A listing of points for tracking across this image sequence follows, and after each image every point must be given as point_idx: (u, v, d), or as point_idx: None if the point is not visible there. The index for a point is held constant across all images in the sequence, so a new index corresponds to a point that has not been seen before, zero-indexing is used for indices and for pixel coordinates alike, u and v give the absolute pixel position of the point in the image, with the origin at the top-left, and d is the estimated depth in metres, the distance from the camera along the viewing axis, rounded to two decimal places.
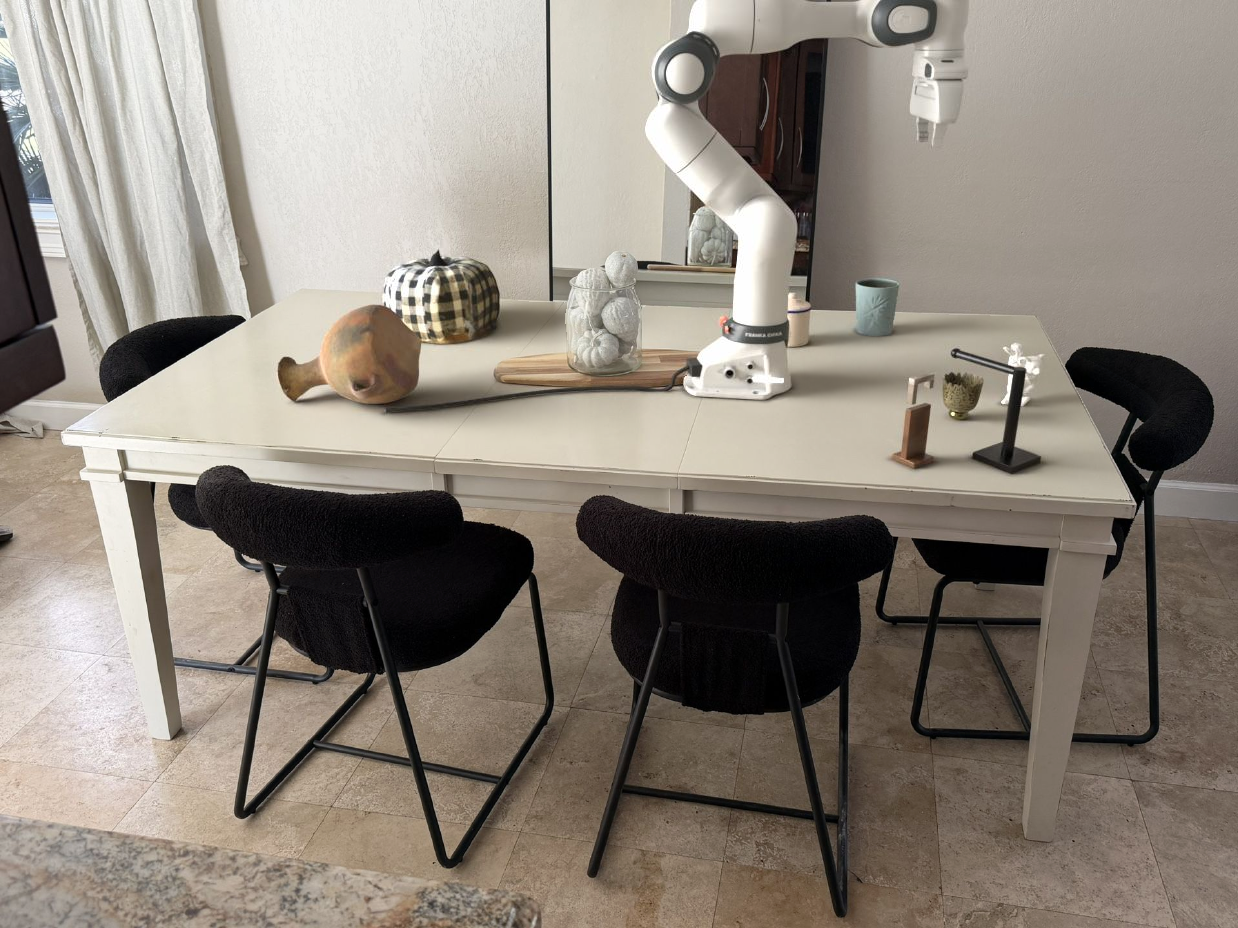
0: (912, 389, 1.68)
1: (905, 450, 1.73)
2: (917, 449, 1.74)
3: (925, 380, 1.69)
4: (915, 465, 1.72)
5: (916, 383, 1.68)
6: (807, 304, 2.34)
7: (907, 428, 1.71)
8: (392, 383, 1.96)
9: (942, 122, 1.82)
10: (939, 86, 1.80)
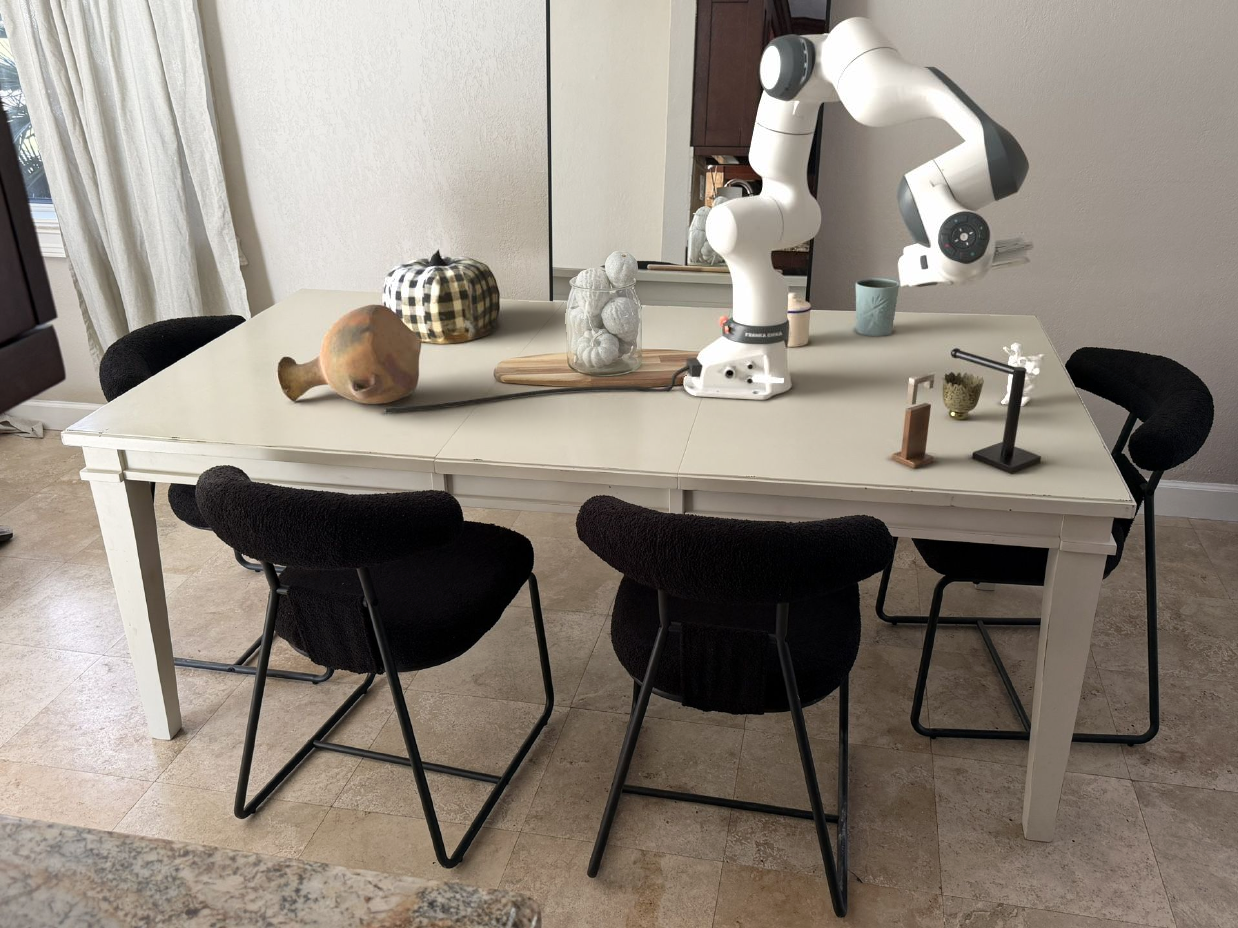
0: (912, 389, 1.68)
1: (905, 450, 1.73)
2: (917, 449, 1.74)
3: (925, 380, 1.69)
4: (915, 465, 1.72)
5: (916, 383, 1.68)
6: (807, 304, 2.34)
7: (907, 428, 1.71)
8: (392, 383, 1.96)
9: None
10: (901, 259, 1.62)
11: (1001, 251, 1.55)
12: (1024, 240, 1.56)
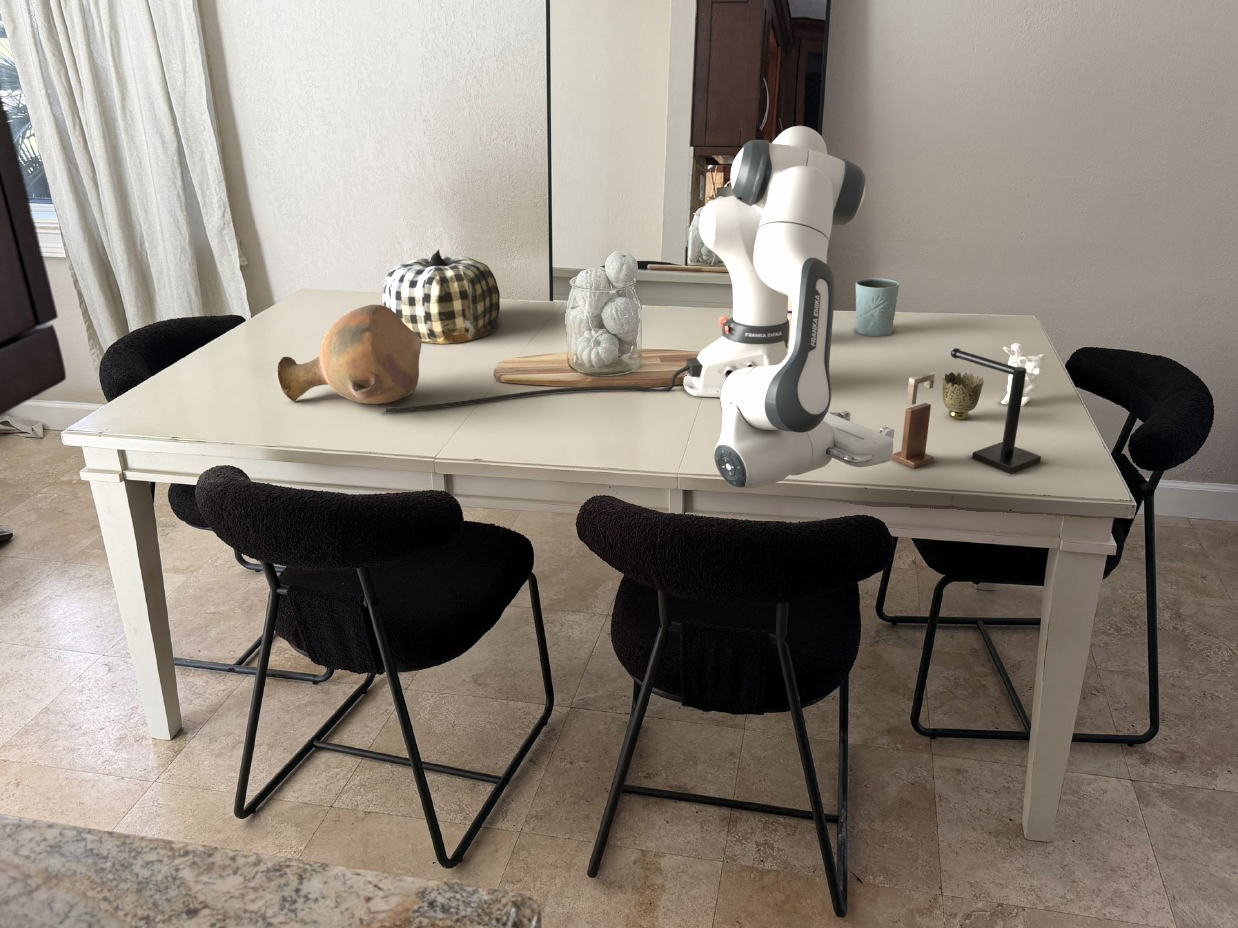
0: (912, 389, 1.68)
1: (905, 450, 1.73)
2: (917, 449, 1.74)
3: (925, 380, 1.69)
4: (915, 465, 1.72)
5: (916, 383, 1.68)
6: None
7: (907, 428, 1.71)
8: (392, 383, 1.96)
9: None
10: None
11: (832, 456, 1.54)
12: (863, 451, 1.52)
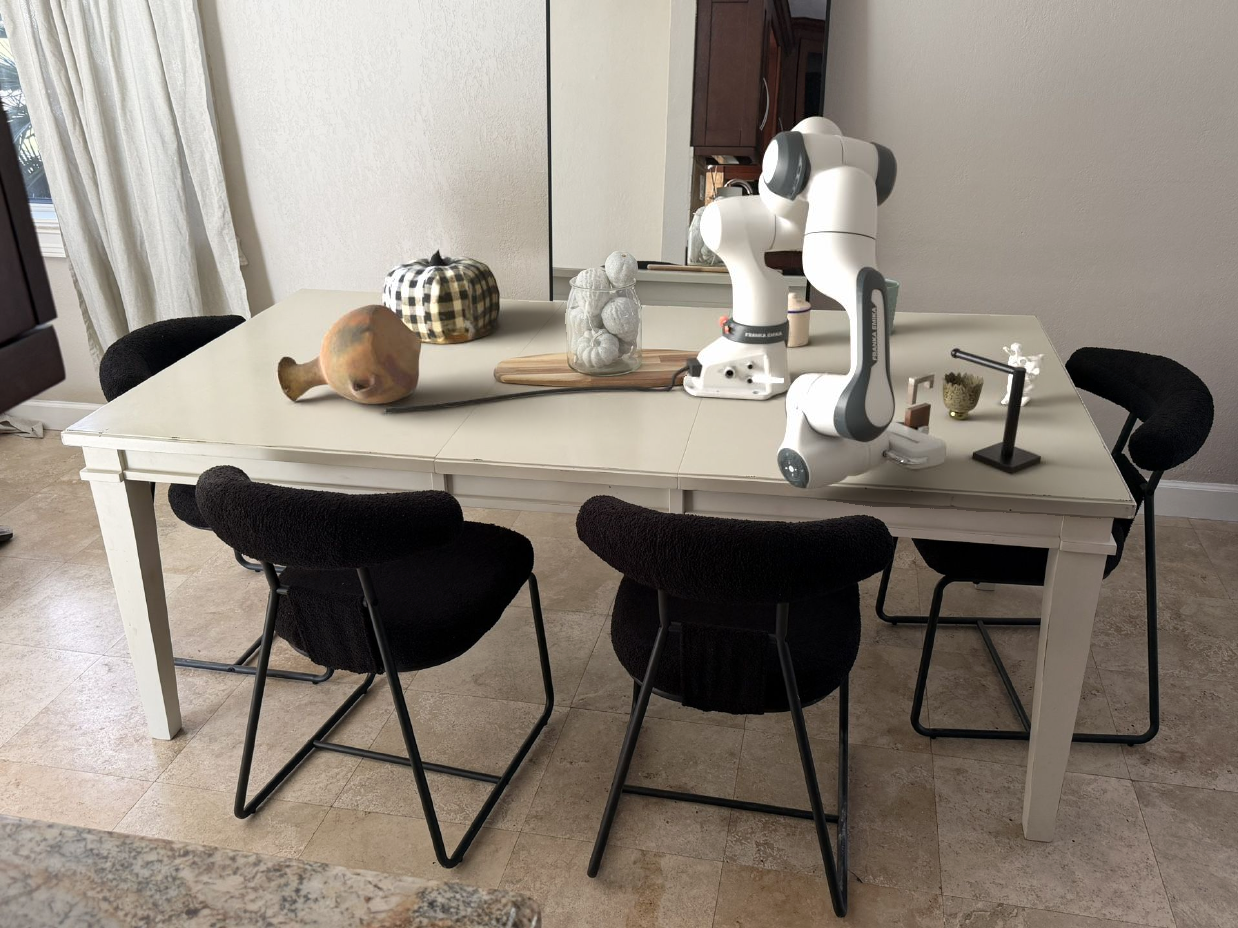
0: (912, 389, 1.68)
1: None
2: None
3: (925, 380, 1.69)
4: None
5: (916, 383, 1.68)
6: (807, 304, 2.34)
7: None
8: (392, 383, 1.96)
9: None
10: None
11: (888, 458, 1.62)
12: (918, 454, 1.60)
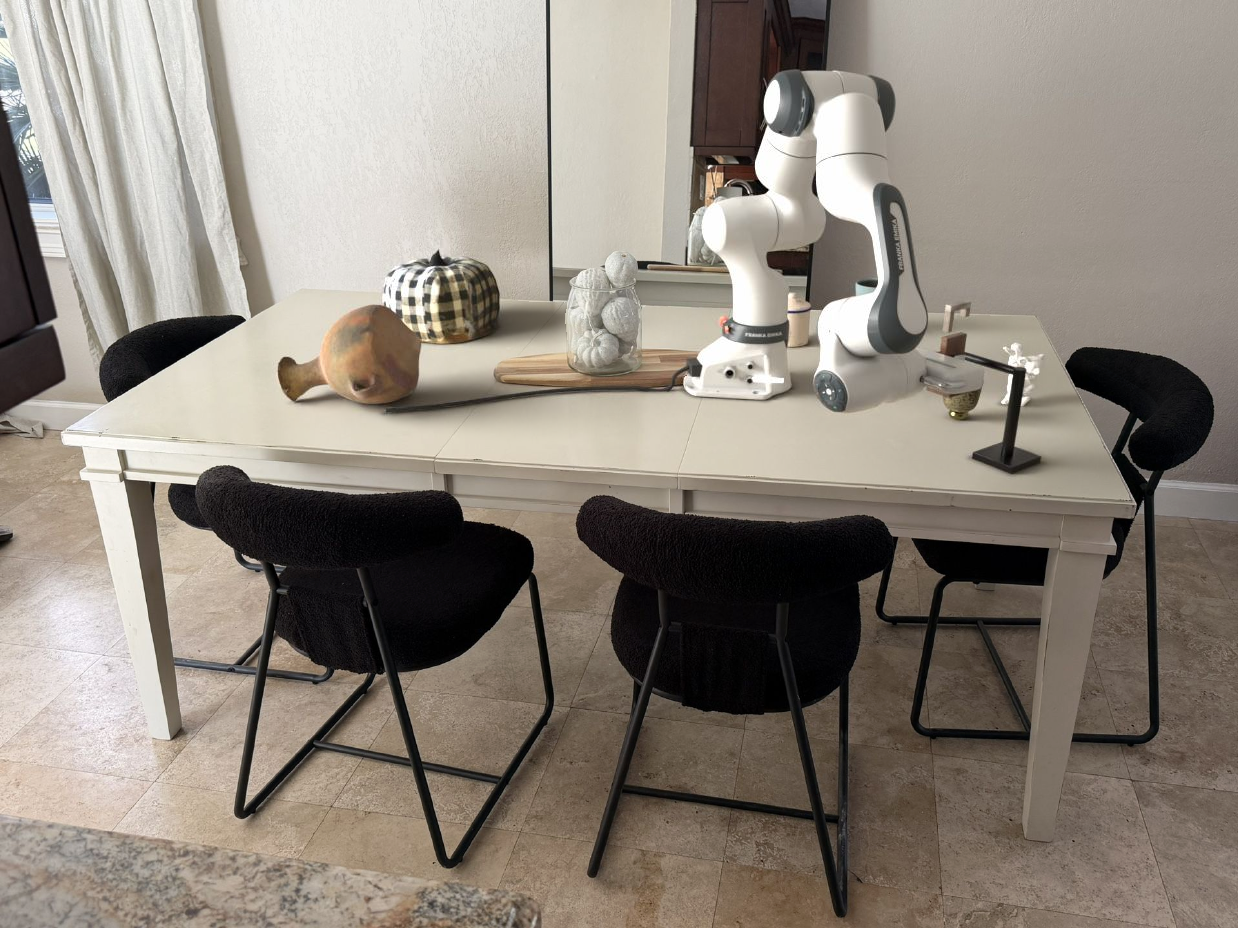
0: (949, 316, 1.67)
1: None
2: None
3: (962, 307, 1.68)
4: (951, 395, 1.71)
5: (953, 310, 1.67)
6: (807, 304, 2.34)
7: None
8: (392, 383, 1.96)
9: None
10: None
11: (926, 383, 1.61)
12: (956, 378, 1.59)
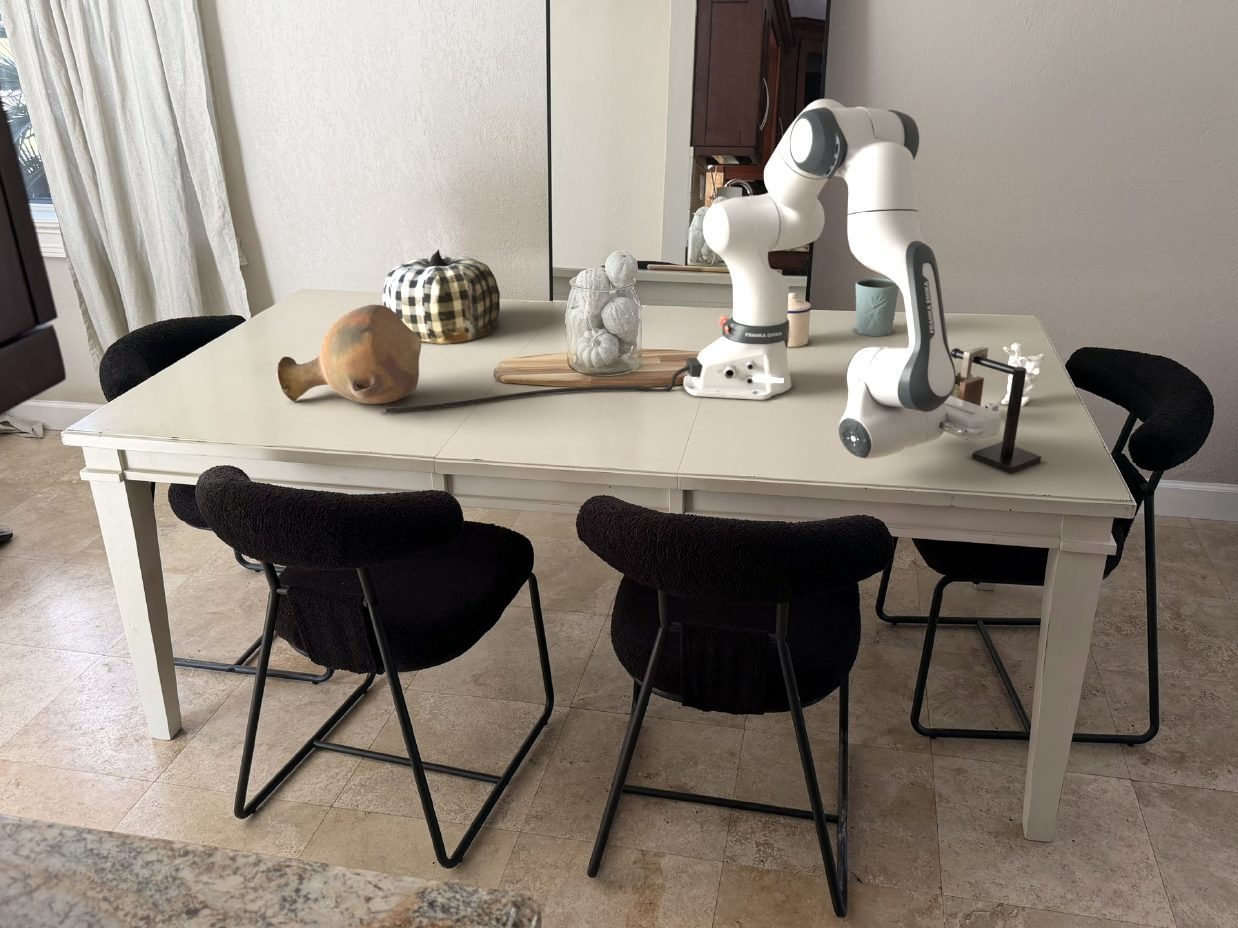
0: (967, 362, 1.74)
1: None
2: None
3: (979, 354, 1.74)
4: None
5: (971, 357, 1.73)
6: (807, 304, 2.34)
7: None
8: (392, 383, 1.96)
9: None
10: None
11: (946, 429, 1.68)
12: (975, 425, 1.66)
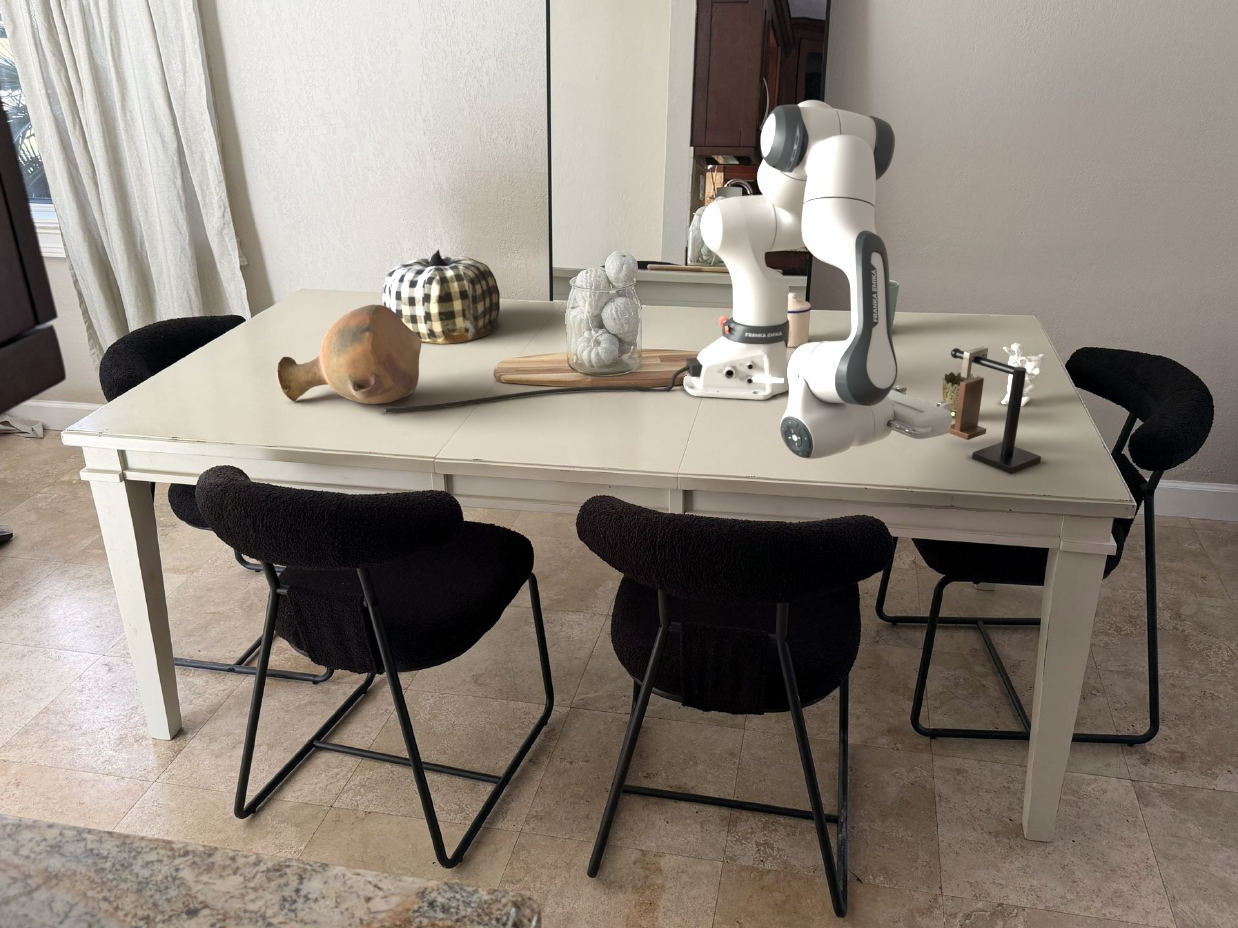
0: (967, 362, 1.74)
1: (959, 422, 1.78)
2: (970, 422, 1.80)
3: (979, 354, 1.74)
4: (969, 437, 1.78)
5: (971, 357, 1.73)
6: (807, 304, 2.34)
7: (961, 401, 1.77)
8: (392, 383, 1.96)
9: None
10: None
11: (893, 428, 1.60)
12: (923, 423, 1.58)
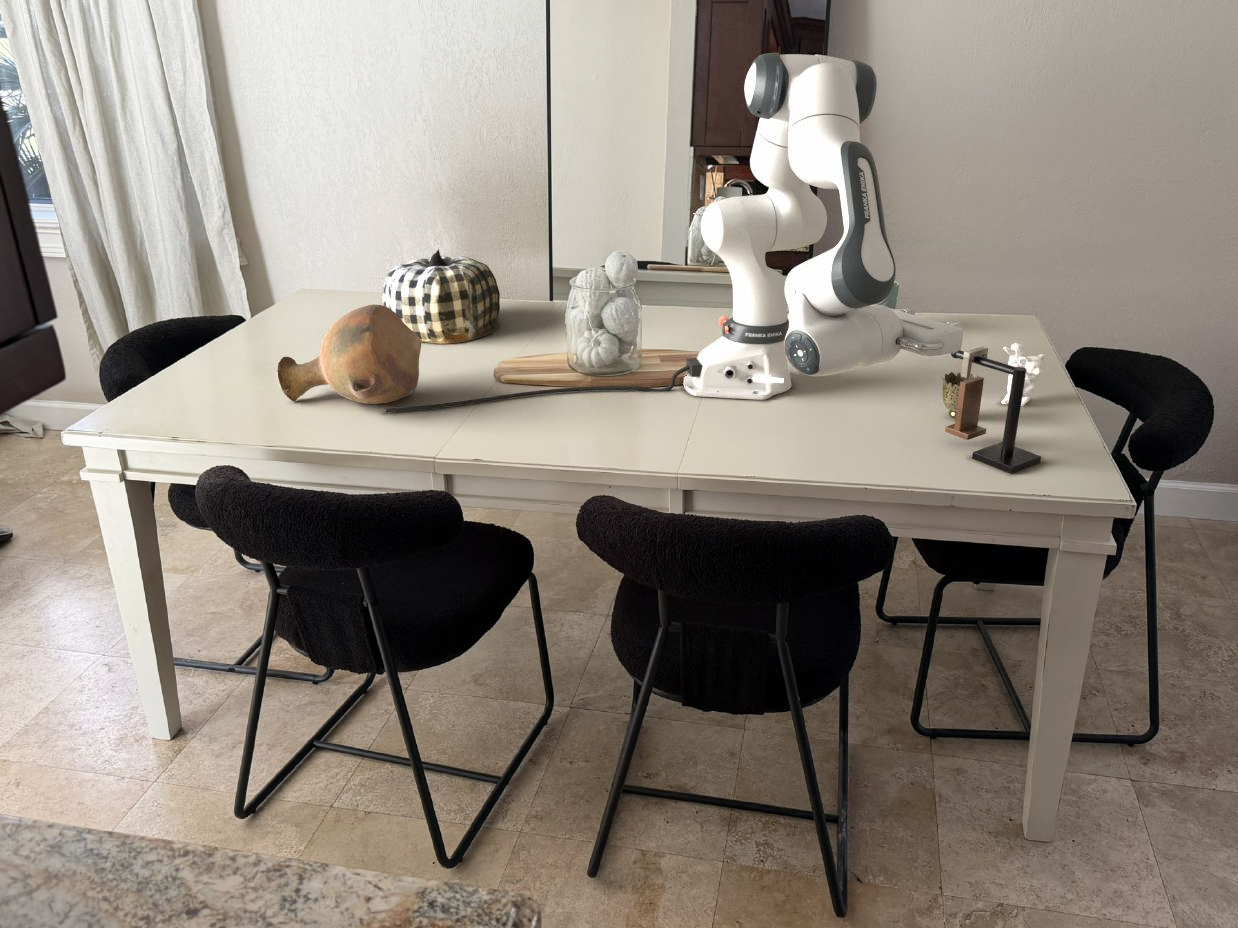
0: (967, 362, 1.74)
1: (959, 422, 1.78)
2: (970, 422, 1.80)
3: (979, 354, 1.74)
4: (969, 437, 1.78)
5: (971, 357, 1.73)
6: None
7: (961, 401, 1.77)
8: (392, 383, 1.96)
9: None
10: None
11: (902, 345, 1.54)
12: (933, 339, 1.52)
